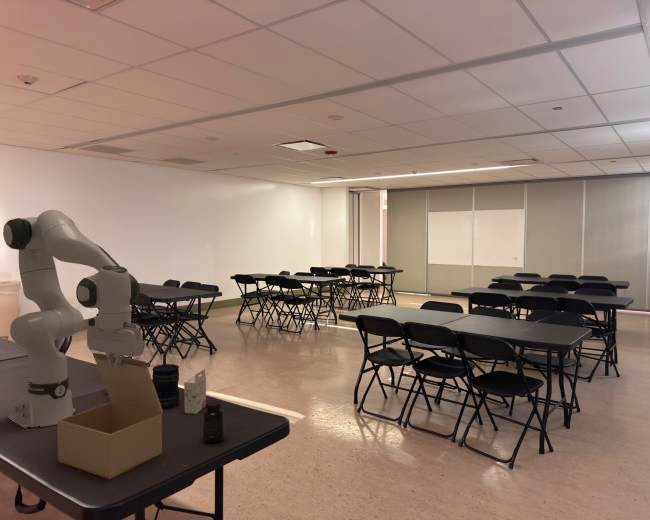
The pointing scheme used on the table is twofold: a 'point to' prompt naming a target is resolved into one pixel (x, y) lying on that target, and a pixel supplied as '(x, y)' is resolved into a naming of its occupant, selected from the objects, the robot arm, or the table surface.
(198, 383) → the ink cartridge box
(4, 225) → the robot arm
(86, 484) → the table surface
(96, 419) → the carton
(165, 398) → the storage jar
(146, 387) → the flap
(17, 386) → the table surface
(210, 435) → the supplement bottle
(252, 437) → the table surface
